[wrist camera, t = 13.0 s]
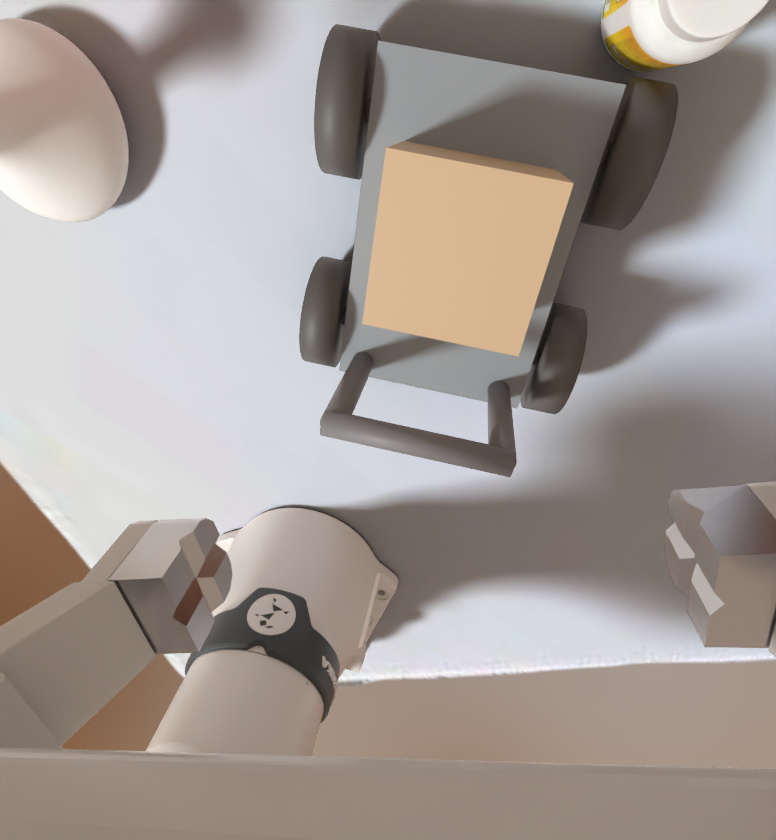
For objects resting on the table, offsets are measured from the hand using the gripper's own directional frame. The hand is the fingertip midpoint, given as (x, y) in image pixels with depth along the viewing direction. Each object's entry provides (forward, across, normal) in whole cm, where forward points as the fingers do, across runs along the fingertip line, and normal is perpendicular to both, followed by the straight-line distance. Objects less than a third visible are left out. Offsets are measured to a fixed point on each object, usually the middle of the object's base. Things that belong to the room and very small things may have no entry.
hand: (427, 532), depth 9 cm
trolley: (+29, -1, 0) cm, 29 cm away
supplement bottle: (+28, -12, -10) cm, 32 cm away
